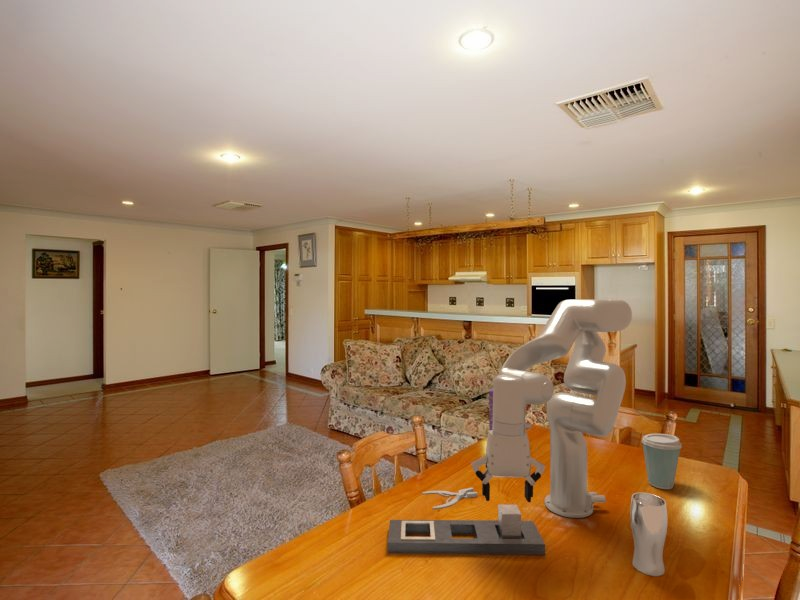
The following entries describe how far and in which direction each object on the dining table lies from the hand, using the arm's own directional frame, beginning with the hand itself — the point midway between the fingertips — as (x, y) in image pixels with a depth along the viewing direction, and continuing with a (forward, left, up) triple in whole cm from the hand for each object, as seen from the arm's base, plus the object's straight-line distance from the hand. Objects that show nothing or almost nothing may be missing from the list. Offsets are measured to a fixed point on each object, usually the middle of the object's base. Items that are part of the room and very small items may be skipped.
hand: (507, 499), depth 104 cm
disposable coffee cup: (-54, -32, -11) cm, 63 cm away
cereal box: (-12, -60, -11) cm, 62 cm away
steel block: (-1, -1, -11) cm, 11 cm away
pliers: (+11, -23, -11) cm, 28 cm away
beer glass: (-29, +8, -11) cm, 32 cm away
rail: (+10, -1, -11) cm, 15 cm away
